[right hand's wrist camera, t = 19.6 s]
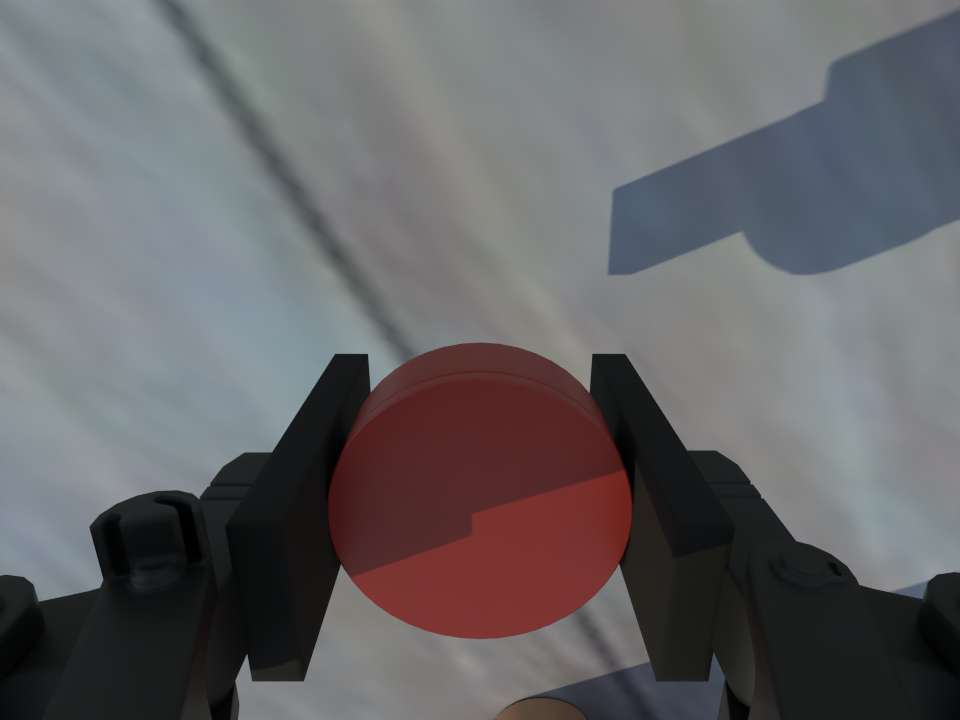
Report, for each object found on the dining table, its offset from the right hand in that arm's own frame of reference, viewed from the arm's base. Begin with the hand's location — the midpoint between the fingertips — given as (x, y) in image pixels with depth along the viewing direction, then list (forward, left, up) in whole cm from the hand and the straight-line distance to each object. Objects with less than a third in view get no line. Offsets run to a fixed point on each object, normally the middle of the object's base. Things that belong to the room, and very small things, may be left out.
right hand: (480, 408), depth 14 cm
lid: (0, 0, +4) cm, 4 cm away
